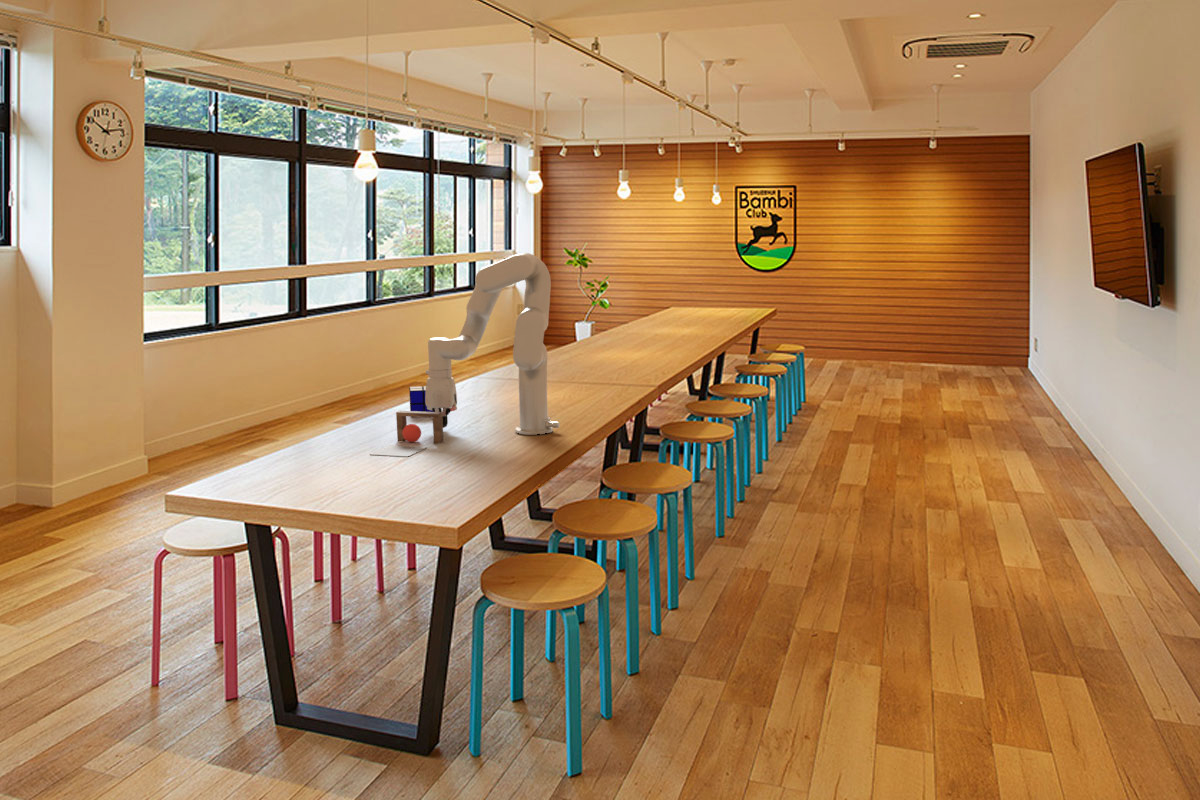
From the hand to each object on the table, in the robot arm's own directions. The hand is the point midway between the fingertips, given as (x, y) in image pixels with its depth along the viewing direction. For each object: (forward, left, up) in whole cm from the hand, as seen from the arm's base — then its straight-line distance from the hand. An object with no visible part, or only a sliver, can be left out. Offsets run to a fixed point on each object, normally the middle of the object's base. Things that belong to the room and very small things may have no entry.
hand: (442, 426), depth 345 cm
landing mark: (0, +32, -2) cm, 32 cm away
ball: (+2, +18, +2) cm, 19 cm away
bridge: (0, +17, -2) cm, 17 cm away
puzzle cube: (+21, -28, -2) cm, 35 cm away
